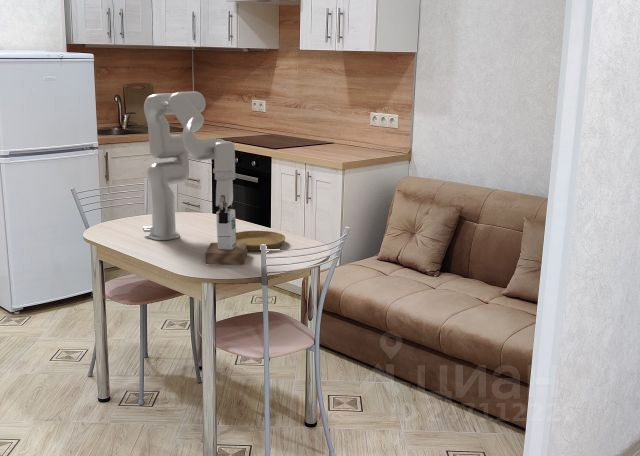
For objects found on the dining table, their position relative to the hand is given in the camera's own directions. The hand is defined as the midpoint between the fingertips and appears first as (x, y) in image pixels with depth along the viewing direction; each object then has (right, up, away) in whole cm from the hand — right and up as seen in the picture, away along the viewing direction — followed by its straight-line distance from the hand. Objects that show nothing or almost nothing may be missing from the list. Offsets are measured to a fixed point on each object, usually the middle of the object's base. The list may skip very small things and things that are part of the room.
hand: (225, 220), depth 269 cm
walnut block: (0, -15, +4) cm, 16 cm away
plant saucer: (+9, -10, +25) cm, 28 cm away
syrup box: (0, -11, +3) cm, 11 cm away
